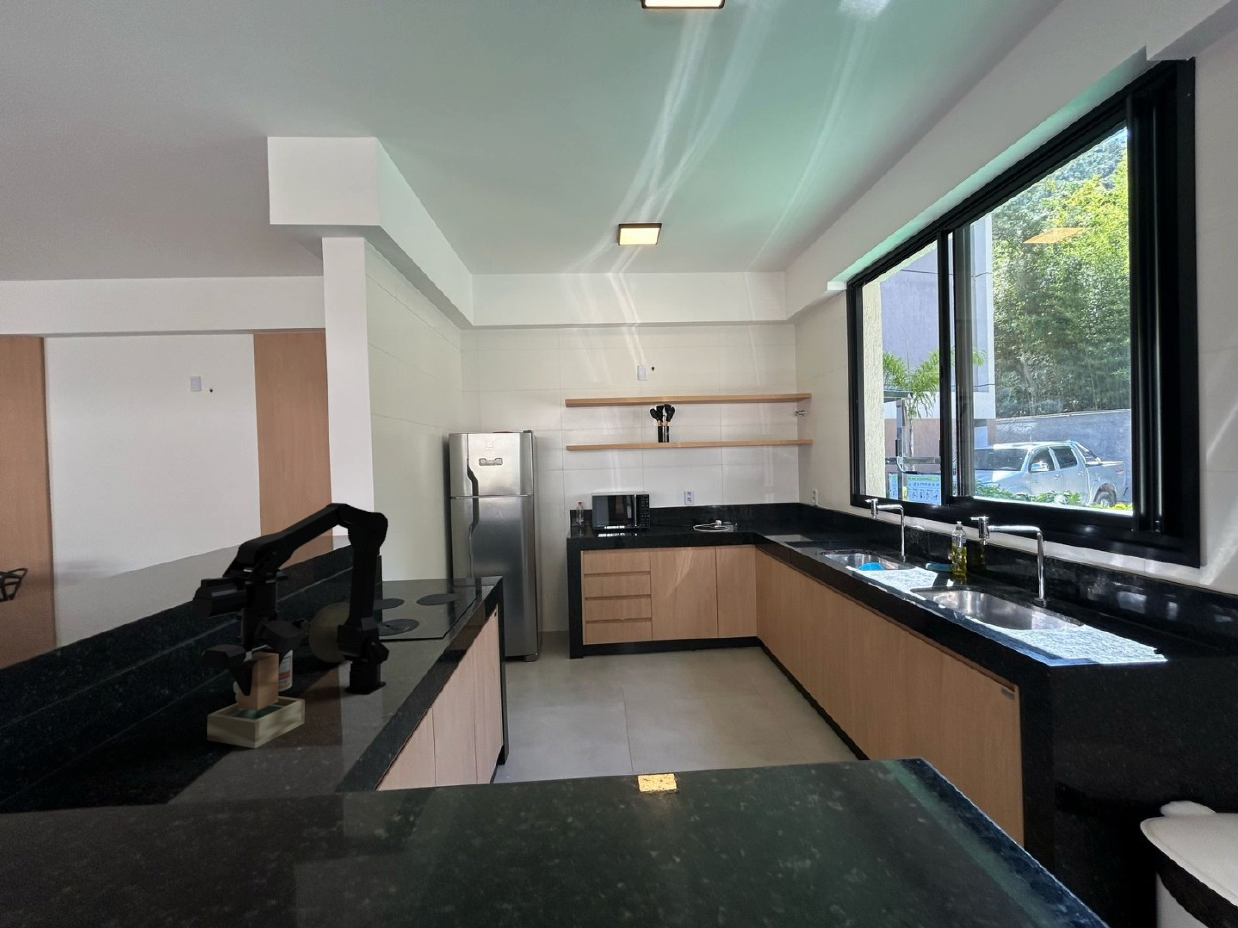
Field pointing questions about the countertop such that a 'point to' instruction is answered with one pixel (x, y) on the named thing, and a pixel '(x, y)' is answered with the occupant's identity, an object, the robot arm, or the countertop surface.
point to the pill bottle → (285, 673)
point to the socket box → (255, 722)
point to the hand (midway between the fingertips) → (258, 690)
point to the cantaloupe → (328, 632)
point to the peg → (262, 682)
